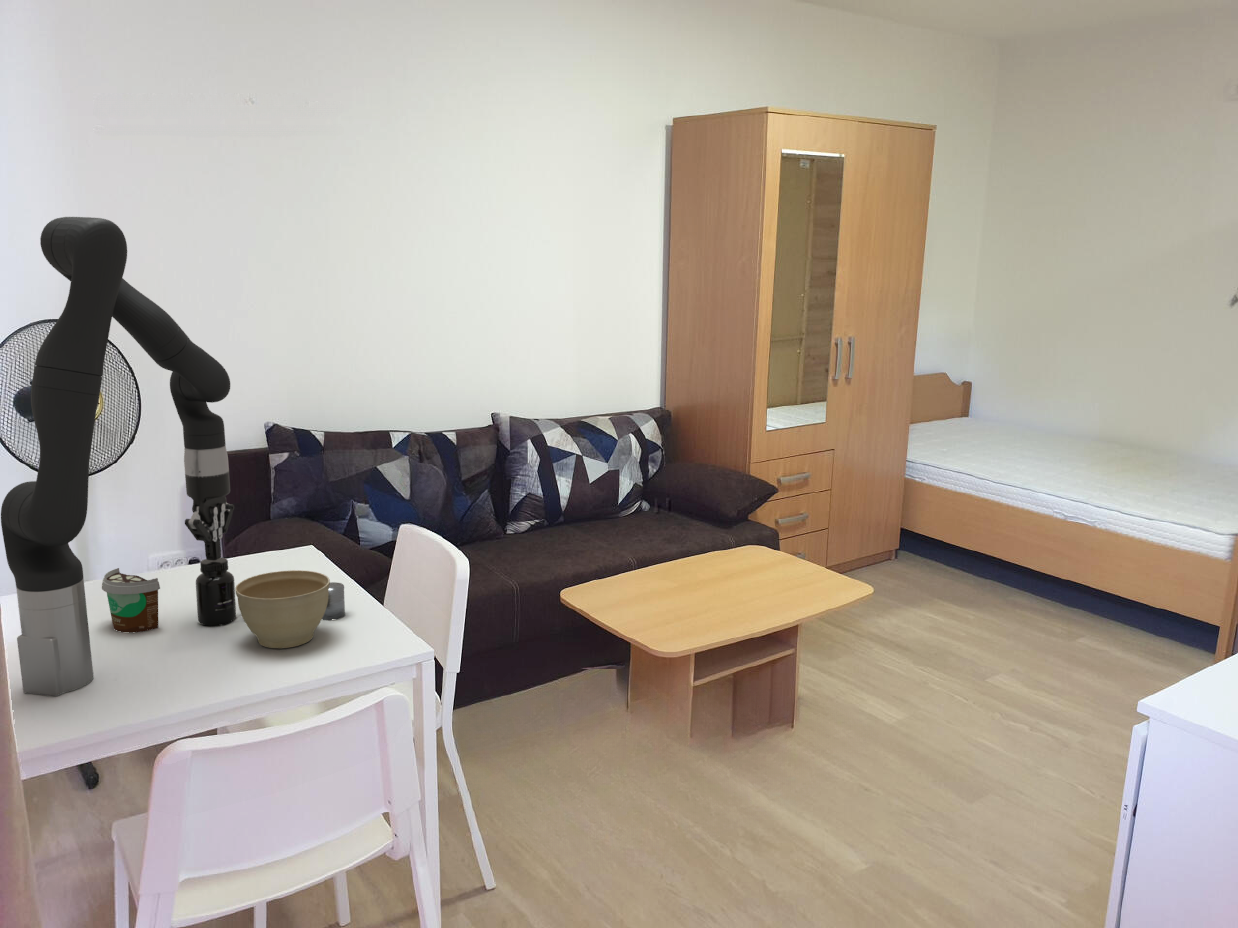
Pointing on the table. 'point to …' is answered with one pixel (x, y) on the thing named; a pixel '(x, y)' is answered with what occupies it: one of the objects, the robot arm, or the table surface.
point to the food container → (131, 601)
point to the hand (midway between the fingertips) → (213, 558)
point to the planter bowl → (283, 606)
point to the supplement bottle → (215, 593)
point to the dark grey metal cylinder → (335, 602)
